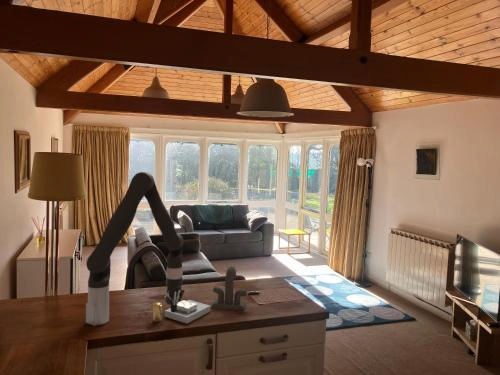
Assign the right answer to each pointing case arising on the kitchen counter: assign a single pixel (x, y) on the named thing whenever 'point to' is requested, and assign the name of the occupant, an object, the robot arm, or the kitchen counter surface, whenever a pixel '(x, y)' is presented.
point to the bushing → (157, 311)
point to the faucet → (229, 293)
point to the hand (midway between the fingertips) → (173, 311)
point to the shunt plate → (186, 306)
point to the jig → (190, 316)
